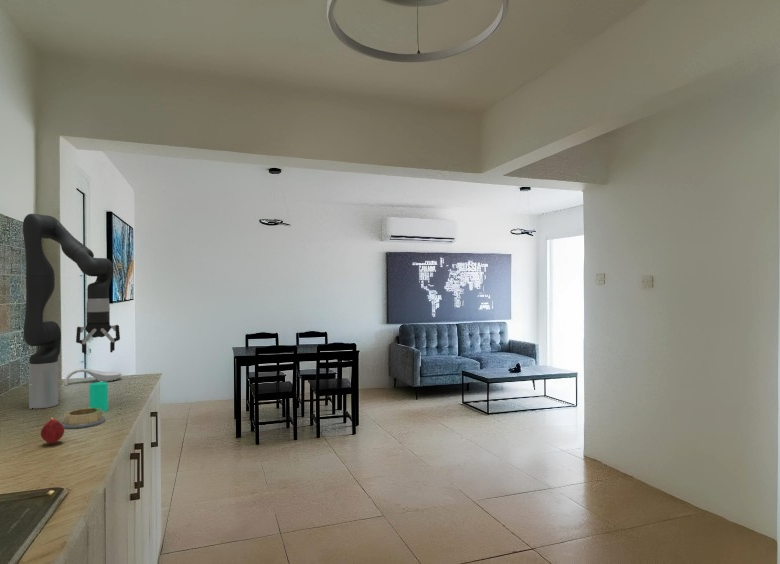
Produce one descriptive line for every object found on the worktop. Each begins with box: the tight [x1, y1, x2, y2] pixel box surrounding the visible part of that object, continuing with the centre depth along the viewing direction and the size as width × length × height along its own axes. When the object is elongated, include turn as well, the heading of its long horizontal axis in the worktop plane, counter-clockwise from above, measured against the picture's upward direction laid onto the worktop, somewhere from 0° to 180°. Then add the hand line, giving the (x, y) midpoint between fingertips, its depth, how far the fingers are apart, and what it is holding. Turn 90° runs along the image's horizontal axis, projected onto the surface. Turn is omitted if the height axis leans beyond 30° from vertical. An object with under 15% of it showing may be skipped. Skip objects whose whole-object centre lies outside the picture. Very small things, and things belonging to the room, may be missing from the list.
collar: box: [63, 407, 103, 425], centre depth 169 cm, size 11×11×3 cm
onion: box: [40, 416, 65, 445], centre depth 148 cm, size 6×6×8 cm
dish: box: [60, 415, 106, 430], centre depth 169 cm, size 13×13×1 cm
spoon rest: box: [64, 368, 122, 386], centre depth 237 cm, size 24×12×7 cm, turn 126°
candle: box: [88, 379, 109, 413], centre depth 185 cm, size 6×6×12 cm
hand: (98, 353), depth 185 cm, fingers open, 8 cm apart
